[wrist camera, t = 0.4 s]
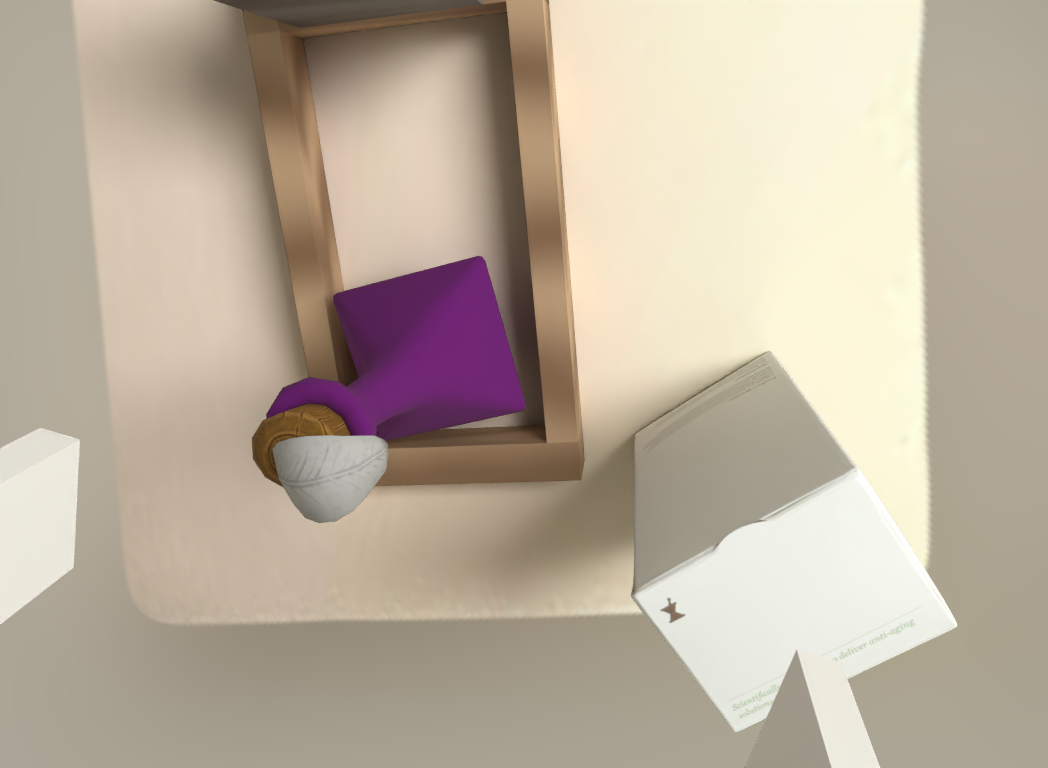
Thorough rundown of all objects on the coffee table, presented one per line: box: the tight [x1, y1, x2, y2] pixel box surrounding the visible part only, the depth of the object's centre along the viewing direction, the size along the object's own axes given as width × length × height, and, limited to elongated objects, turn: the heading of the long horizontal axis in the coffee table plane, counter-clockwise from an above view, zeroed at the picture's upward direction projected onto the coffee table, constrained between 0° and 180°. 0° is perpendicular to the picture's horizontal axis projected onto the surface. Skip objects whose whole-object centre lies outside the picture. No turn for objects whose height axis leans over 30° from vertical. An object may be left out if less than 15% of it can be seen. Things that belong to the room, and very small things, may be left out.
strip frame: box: [215, 0, 584, 486], centre depth 33 cm, size 24×13×10 cm, turn 5°
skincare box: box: [631, 351, 957, 732], centre depth 32 cm, size 8×7×16 cm
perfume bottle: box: [252, 256, 526, 523], centre depth 31 cm, size 8×8×18 cm
